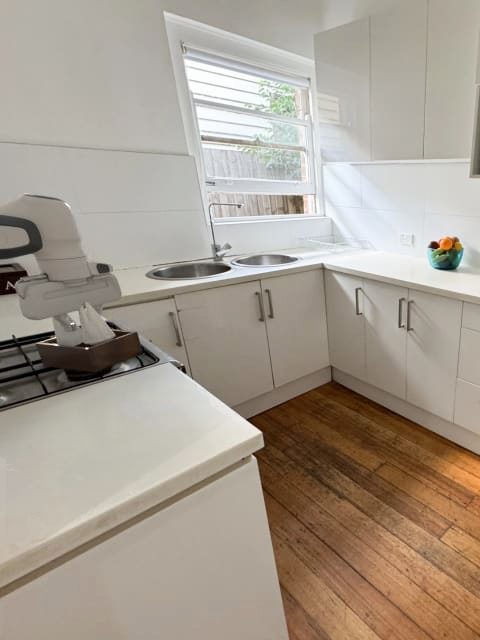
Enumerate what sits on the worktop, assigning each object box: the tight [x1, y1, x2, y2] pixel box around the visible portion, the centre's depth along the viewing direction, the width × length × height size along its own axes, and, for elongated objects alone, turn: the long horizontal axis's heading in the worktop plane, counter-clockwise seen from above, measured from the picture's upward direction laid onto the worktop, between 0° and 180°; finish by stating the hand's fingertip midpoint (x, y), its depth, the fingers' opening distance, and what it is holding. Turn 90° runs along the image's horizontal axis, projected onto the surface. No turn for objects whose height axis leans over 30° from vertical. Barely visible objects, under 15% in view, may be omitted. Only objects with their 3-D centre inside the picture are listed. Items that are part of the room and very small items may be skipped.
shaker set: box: [51, 302, 115, 346], centre depth 92 cm, size 12×4×11 cm, turn 91°
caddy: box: [34, 328, 144, 373], centre depth 94 cm, size 13×16×6 cm
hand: (84, 327), depth 92 cm, fingers closed on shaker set, 4 cm apart
